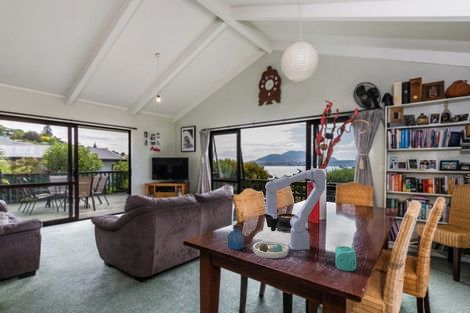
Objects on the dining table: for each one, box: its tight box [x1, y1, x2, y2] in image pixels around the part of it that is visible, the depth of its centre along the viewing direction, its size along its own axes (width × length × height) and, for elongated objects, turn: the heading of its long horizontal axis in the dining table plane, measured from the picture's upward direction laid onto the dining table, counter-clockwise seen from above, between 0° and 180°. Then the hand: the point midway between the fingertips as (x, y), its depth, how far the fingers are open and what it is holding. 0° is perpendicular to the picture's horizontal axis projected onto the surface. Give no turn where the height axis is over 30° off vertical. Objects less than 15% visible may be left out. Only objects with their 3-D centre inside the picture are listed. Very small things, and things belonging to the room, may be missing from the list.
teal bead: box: [273, 244, 282, 252], centre depth 123 cm, size 4×4×4 cm
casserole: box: [276, 213, 296, 231], centre depth 172 cm, size 25×19×8 cm
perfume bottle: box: [227, 224, 245, 251], centre depth 133 cm, size 6×6×12 cm
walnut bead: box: [259, 244, 268, 252], centre depth 123 cm, size 4×4×4 cm
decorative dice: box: [334, 245, 357, 272], centre depth 109 cm, size 8×8×8 cm
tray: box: [252, 240, 290, 259], centre depth 127 cm, size 18×18×2 cm
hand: (271, 228), depth 133 cm, fingers open, 7 cm apart
